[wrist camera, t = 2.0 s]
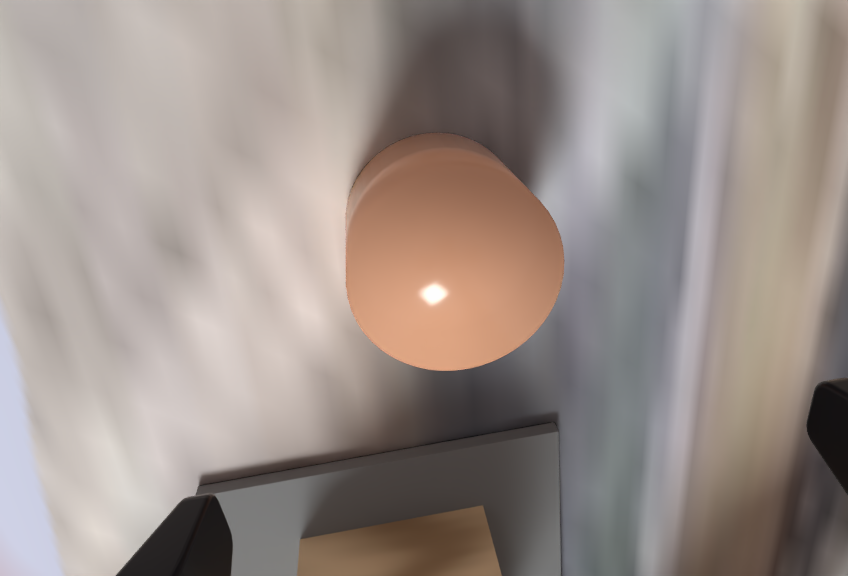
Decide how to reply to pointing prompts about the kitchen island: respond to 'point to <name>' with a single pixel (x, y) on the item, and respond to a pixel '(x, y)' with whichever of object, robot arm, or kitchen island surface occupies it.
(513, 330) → the peach rounded cylinder
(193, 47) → the kitchen island surface
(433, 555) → the base block
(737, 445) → the kitchen island surface
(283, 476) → the mat
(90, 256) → the kitchen island surface
